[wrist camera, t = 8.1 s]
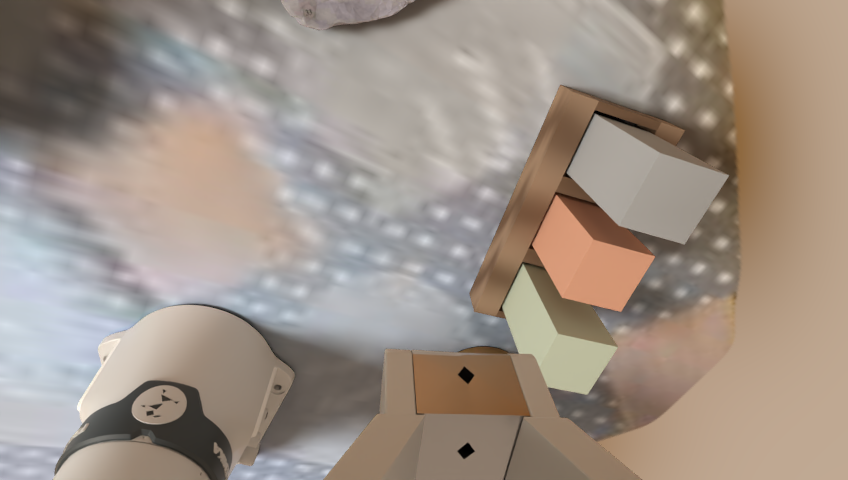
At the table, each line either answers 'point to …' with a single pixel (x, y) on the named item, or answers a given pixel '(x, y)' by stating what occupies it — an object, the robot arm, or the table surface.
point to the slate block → (644, 179)
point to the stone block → (341, 11)
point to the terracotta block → (589, 253)
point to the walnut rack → (546, 189)
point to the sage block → (557, 331)
